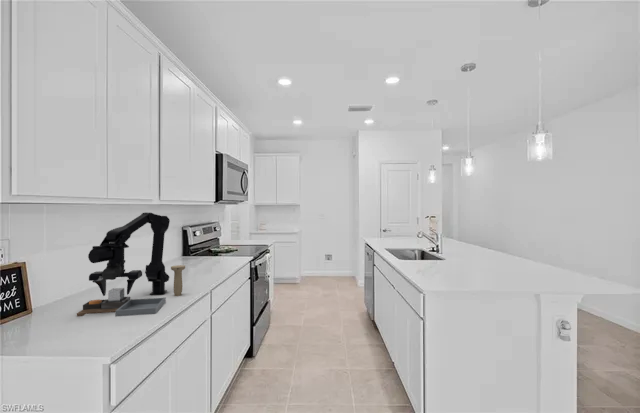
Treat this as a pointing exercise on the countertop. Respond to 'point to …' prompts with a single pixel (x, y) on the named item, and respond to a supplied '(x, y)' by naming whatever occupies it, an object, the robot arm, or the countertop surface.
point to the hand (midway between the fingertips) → (116, 295)
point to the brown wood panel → (102, 307)
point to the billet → (116, 295)
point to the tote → (140, 307)
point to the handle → (178, 279)
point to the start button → (95, 302)
